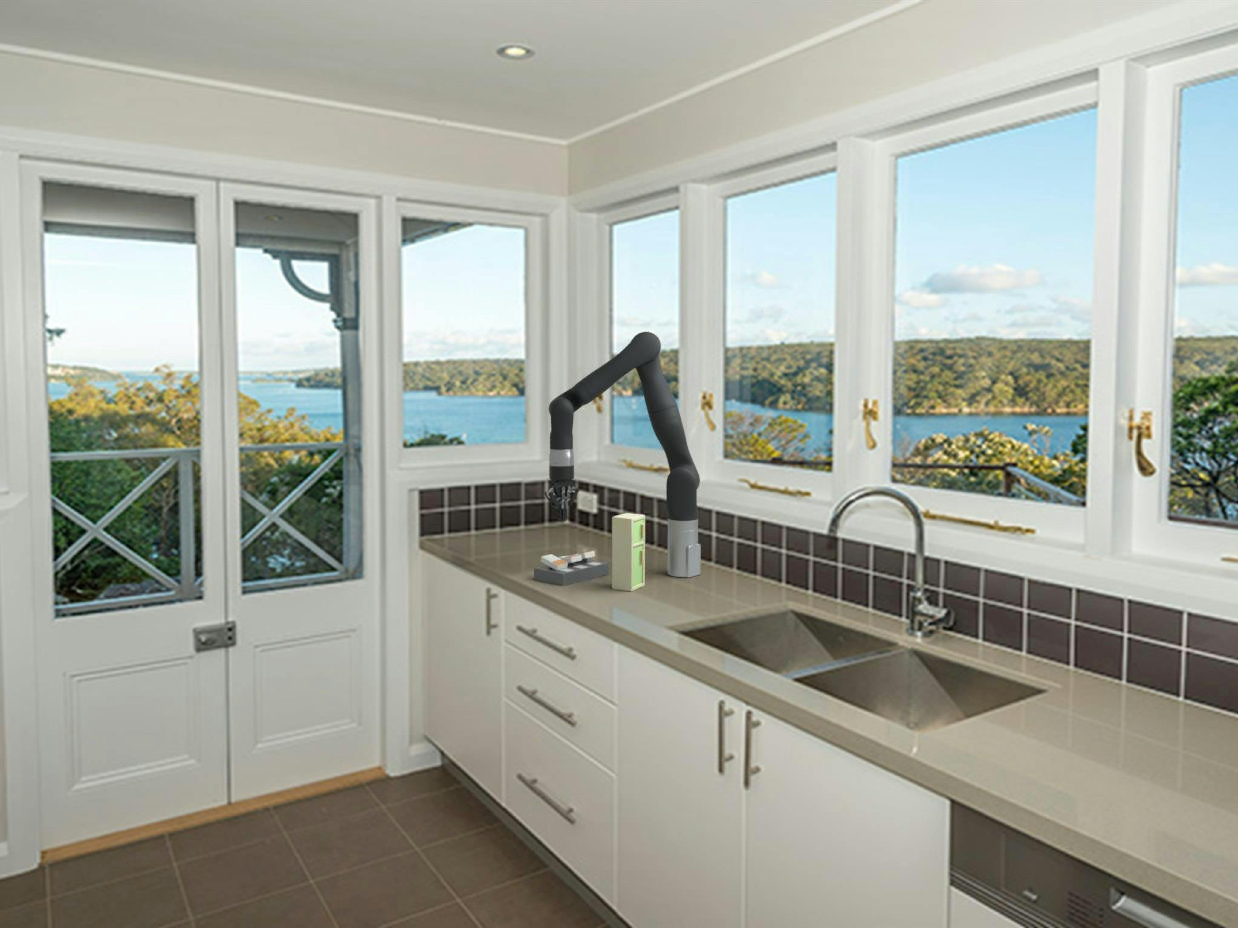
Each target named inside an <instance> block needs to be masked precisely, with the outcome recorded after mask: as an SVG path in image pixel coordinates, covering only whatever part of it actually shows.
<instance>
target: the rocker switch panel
mask: <svg viewBox="0 0 1238 928" xmlns="http://www.w3.org/2000/svg"><path fill="white" fill-rule="evenodd" d="M609 570H610V565H609V562H604V561H599V560H593V559H589V558H585V559H582V560H581V561H576V562H572V563H568V566H567V568H565V569H561V570H555V569H553V568H551V567H550V566H548V565H546V564H545V565H543V566H542V565H541V566H537V567H535V568H533V576H534V577H533V580H535V581H539V582H542V583H547V584H552V585H557V586H563V587H564V586H568V585H571V584H572V585H573V584H575V583H580V582H583V581H587V580H591V579H595V578H600V577H603V576H604V577H605V576H608V575H610V573H609Z"/></svg>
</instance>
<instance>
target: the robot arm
mask: <svg viewBox="0 0 1238 928" xmlns="http://www.w3.org/2000/svg"><path fill="white" fill-rule="evenodd" d="M661 343H662V342H661V340H660V338H659V336H657V335H656V334H655V333H654V332H652V331H651V332H650V331H642V332H638V333H637V334H635V335H634V336H633V338H632V339H631V340H630V341H629V343H628V344H627V345H626V346H625V347H624V348H623V349H622V350H621V351H620V352H619V353H618V354H616V355H615V356H614V357H612V358H611V359H609V360H608V361H607V362H605V363H604V364H602V365H601V366H600V367H598V368H597V369H594V370H593V371H592V372H590V373H589V374H588V375H586V376H585V377H583V378H582V379H581V380H579V381H578V382H577V383H575V384H574V385H573V386H572V387H570V388H568V390H566V391H564V392H563V393H562V392H561V394H559V395H557V397H555V398H553V400H552V401H550V403H549V405H548V413H549V416H550V432H549V455H548V472H549V474H548V477H549V479H550V481H551V482H550V486H549V488H550V489H549V490H548V491H545V492H544V496H545V498H546V499H547V501H548V502H549V504H550V506H551V507H553V508H556V517H557V521H559V522H565V521H567V517H568V509H569V507H570V506H572V505H573V504H574V501H575V499H576V498H577V495H578V494H579V492H580V491H579V488H576V487H575V486H574V482H573V480H574V479H575V455H574V436H573V435H574V434H573V428H574V415H575V412H576V411H578V410H579V409H581V408H582V407H583V406H586V405H588V404H590V403H591V402H592V401H594V400H596V399H597V398H599V397H600V396H601V395H602V394H604V393H605V392H606V391H607V390H609V389H610V388H611V387H612V386H613V385H615V384H616V383H617V382H618V381H619V380H621V379H622V378H623V377H624V376H626V375H627V374H628V373H630V372H632V371H633V370H636V373H637V375H638V377H639V380H640V384H641V389H642V394H643V398H644V402H645V407H646V409H647V414H648V418H649V421H650V425H651V427H652V430H653V432H654V434H655V437H656V438H657V439H656V440H658V442H659V444H660V445H661V447H662V449H663V451H664V454H665V456H666V457H665V458H666V461H667V464H668V468H669V474H668V475H667V477H666V483H665V484H666V486H665V487H666V491H665V492H666V493H665V494H666V511H667V575H669V576H671V577H675V578H677V577H678V578H692V577H696V576H699V575H701V560H702V559H701V551H702V550H701V549H702V548H701V547H702V546H701V543H699V510H698V504H697V503H698V499H697V498H698V497H697V493H698V491H697V490H698V488H699V487H700V484H701V481H700V479H701V477H700V474H699V471H698V469H697V467H696V464H695V462H694V459H693V457H692V455H691V452H690V449H689V446H688V442H687V437H686V433H685V428H684V426H683V421H682V417H681V413H680V410H679V407H678V406H679V405H678V404H677V400H676V398H675V396H674V394H673V392H672V390H671V388H670V385H669V384H668V382H667V380H666V377H665V375H664V372H663V368H662V364H661V360H660V359H661V358H660V353H661V351H662V344H661Z"/></svg>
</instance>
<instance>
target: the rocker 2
mask: <svg viewBox="0 0 1238 928" xmlns="http://www.w3.org/2000/svg"><path fill="white" fill-rule="evenodd" d="M573 555H581V557H582V559H585V558H588V559H589V558H593V557H596V554H595V550H590V551H583V552H580V553H574V554H573Z"/></svg>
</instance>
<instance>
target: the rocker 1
mask: <svg viewBox="0 0 1238 928" xmlns="http://www.w3.org/2000/svg"><path fill="white" fill-rule="evenodd" d="M558 557H559V556H558ZM558 557H557V556H556V555H554V554H552V553H550V554H546V555H542V556H541V557H540V562H541V563H543V564H545V566H546V565H548V566H550V567H551V568H553V569H555V570H561V569H565V568H567V566H568V563H567V562H565V561H563V560H561V559H560V558H558Z"/></svg>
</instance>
